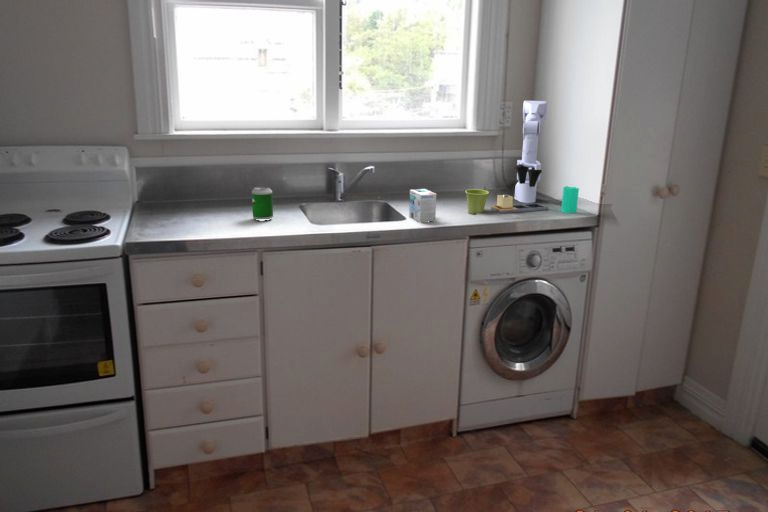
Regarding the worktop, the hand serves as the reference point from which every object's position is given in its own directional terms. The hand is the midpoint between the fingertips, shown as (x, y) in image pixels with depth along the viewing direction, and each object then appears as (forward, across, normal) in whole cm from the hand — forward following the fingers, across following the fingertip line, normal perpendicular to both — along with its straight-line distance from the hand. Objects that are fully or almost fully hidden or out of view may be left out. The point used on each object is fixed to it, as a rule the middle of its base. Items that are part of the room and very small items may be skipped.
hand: (527, 185), depth 267 cm
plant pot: (+11, -2, -22) cm, 24 cm away
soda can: (+12, -14, -105) cm, 106 cm away
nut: (+10, +2, -11) cm, 14 cm away
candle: (+11, +10, +14) cm, 20 cm away
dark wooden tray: (+10, +2, -4) cm, 11 cm away
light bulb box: (+11, +2, -46) cm, 48 cm away
